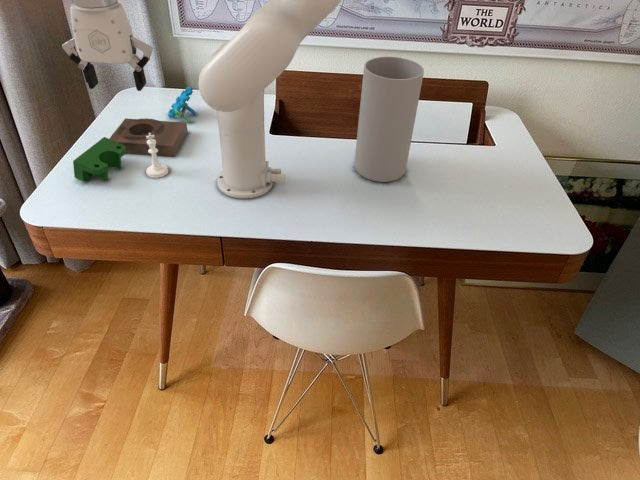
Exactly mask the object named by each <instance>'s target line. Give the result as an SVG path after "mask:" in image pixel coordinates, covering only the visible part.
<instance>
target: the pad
mask: <svg viewBox="0 0 640 480" xmlns="http://www.w3.org/2000/svg"><path fill="white" fill-rule="evenodd" d="M149 133H151V135H154V137H155V138H152V139H154V140H156V145H155V148H157V149H158V152H157V153H156V155H157V157H158V156H159V157H172V158H173V157H176V156H177V154H178V151H179V150H180V148H181V146H182V144H183V143H184V141H185V139H186V137H187V135H188V133H189V131H188V124H187V122H186V121H185V122H184V121H183V122H182V121H172V120H171V121H169V120H158V119H155V118H126V117H125V118H124V119H123V121H122V122H121V123H120V124H119V126H118V127H117V128H116V129H115V131H114V132H113V133H112V135H111V136H110V137H109V138H108V139H110V140H113V141H115V142H118V143H120V144H122V145H124V146H125V154H129V155H132V154H133V155H145V156H152V154H151V153H149V152H148V150H149V149H150V147H149V146H148V144H147V140H149V139H150V138H148V139H147V138H146V136H149Z"/></svg>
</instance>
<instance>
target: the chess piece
mask: <svg viewBox="0 0 640 480" xmlns="http://www.w3.org/2000/svg"><path fill="white" fill-rule="evenodd" d="M146 138H147V139H148V138H150V139H149V140H147V144H148V146H149V147H150V149H149V150H148V152H149V153H151V154H152V155H151V165H149V166H148V167H147V168H146V170H145V172H146V175H147V176H148V177H149V178H154V179H156V178H157V179H158V178H162V177H165V176H167V175H168V173H169V167H168V166H167V165H166V164H164V163H160V160H159V158H158V155H156V153H157V152H158V149H157V148H155V145H156V140H154V139H152V138H155V137H154V135H151V133H149V136H146Z"/></svg>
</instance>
